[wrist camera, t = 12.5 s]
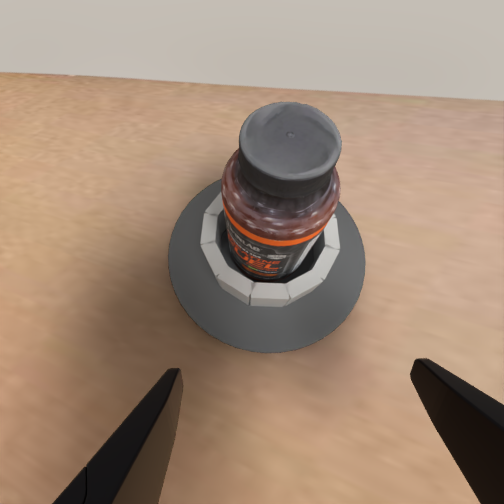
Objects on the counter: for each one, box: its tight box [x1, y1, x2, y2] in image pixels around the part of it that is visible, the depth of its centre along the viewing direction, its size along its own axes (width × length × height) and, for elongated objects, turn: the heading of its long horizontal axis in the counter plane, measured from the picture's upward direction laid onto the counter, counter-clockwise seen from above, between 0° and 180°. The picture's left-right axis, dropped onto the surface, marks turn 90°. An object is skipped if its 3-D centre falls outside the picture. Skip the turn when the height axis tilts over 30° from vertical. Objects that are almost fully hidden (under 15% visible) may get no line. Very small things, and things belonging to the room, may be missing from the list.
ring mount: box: [168, 179, 365, 353], centre depth 19 cm, size 16×16×4 cm
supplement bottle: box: [221, 102, 342, 282], centre depth 14 cm, size 6×6×11 cm
